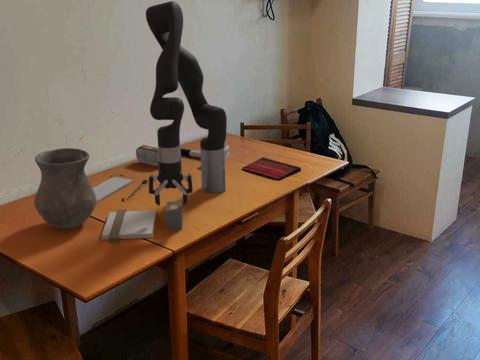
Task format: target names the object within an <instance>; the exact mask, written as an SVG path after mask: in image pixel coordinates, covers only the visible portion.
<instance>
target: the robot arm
mask: <svg viewBox="0 0 480 360" xmlns="http://www.w3.org/2000/svg"><path fill="white" fill-rule="evenodd" d="M145 18H146V23H147V24H148V27H149V29H150V31H151V33H152V35H153V36H154V38H155V40H156V41H157V43H158V44H159V47H160V48H161V51H160V54H159V57H158V58H157V61H156V66H155V89H154V93H153V96H152V99H151V103H150V107H149V113H150V116H151V117H152V118H153V119H154V120H156V121H172V122H171V123H170V124H167V125H163V126H161V127H158V129H157V131H156V132H157V133H156V135H157V148H158V156H157V158H158V167H157V169H158V174H157V175H153V174H150V175H149V177H148V193H149V194H150V195H154V203H155V205H157V206H159V207H160V205H161V196H160V194H161V192H162V190H164V188H165V189H167V190H168V189H176V188H177V189H178V191H180V192H181V194H182V206H186V204H188V194H192V193H193V179H192V174H191V173H188V174H183V173H182V170H183V169H182V155H181V149H180V148H181V141H180V140H181V139H180V132H181V125H182V124H181V123H182V121H183V120H182V118H183V116H184V112H185V103H184V101H183V100H182V98H180V97H176V96H175V97H173V96H172V97H171V96H170V97H164V96H165V95H167V94H172V93H175V92H176V91H177V90H178V88H179V86H180V88H181V90H182V92H183V94H184V96H185V99H186V100H187V102H188V105H189V108H190V111H191V114H192V117H193V118H194V121H195V123H196V124H195V125H197V126H198V127H199V128H201V129H203V130H206V131H207V136H206V137H203V138H202V139H201V140H200V141H199V147H200V148H199V149H200V150H199V151H200V152H201V158H200V177H201V180H200V181H201V190H202V191H203V192H205V193H210V194H215V193H216V194H217V193H221V192H226V166H225V164H226V163H225V162H226V161H225V156H224V148H225V142H226V139H227V127H228V126H227V123H228V122H227V121H228V120H227V119H228V118H227V114H226V113H227V112H226V111H225V109H224V108H222V107H220V106H215V105H211V104H210V103H209V102H208V101H207V99H206V98H205V95H204V92H203V85H204V74H203V73H204V72H203V71H202V68H201V66H200V64H199V61H198V60H197V58H196V57H195V56H194V54H192V52H190V51H189V50H187V49H186V48H184V47H183V46H182V45H181V43H182V42H181V41H182V36H183V29H184V13H183V10H182V8H181V6H180V4H179V3H178V2H176V1H175V0H173V1H171V0H170V1H166V2H162V3H158V4H155V5H151V6H148V7H147V8H146V10H145ZM183 180H184V181H185V182H187V187H188V188H186V187H185V186H184V184H183V183H182V181H183ZM156 181H158V182H159V185H158V186H157V188H156V189H155V188H154V183H155V182H156Z"/></svg>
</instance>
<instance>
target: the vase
mask: <svg viewBox="0 0 480 360" xmlns="http://www.w3.org/2000/svg"><path fill="white" fill-rule="evenodd" d="M89 159H90V154H89V152H87V151H86V150H83V149H81V148H71V147H66V148H65V147H64V148H63V147H62V148H57V149H51V150H46V151H43V152H40V153H38V154H37V155H36V156H35V157H34V161H35V164H36V165H37V167H38V168H39V170H40V175H41V176H40V177H41V178H40V182H39V185H38V189H37V192H36V193H35V195H34V199H33V200H34V202H33V203H34V207H35V209H36V211H37V214H38V215H39V216H40V217H41V219H42V220H43V221H44V222H46V223H47V224H48V225H50V226H51V227H55V228H57V229H59V230H64V231H65V230H66V231H67V230H73V229H75V228H78V227H80V226H82V225H83V224H84V223H85V222H86V221H87V220H89V218H90V217H91V215H92V214H93V212H94V210H95V208H96V205H97V203H96V201H97V199H96V195H95V193H94V191H93V189H92V188H93V187H92V185H91V184H90V181H89V179H88V177H87V174H86V171H85V167H86V165H87V162H88V161H89Z"/></svg>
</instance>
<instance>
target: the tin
mask: <svg viewBox="0 0 480 360" xmlns="http://www.w3.org/2000/svg"><path fill="white" fill-rule="evenodd" d="M135 156H136V159H137V160H138V162H139V163H141V164H143V165H146V166H151V167H155V168H158V158H157V156H158V147H153V146H150V145H145V144H142V145H140V146H138V147H137V148H136V150H135Z"/></svg>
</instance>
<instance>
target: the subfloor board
mask: <svg viewBox="0 0 480 360" xmlns="http://www.w3.org/2000/svg"><path fill="white" fill-rule="evenodd" d="M156 216H157V210H136V211H135V210H134V211H133V210H131V211H130V210H129V211H127V209H126V208H125V209H120V208H119V209H117V211H109V213H108V216H107V219H106V222H105V225H104V227H103V230H102V232H101V240H103V241H104V240H108V243H118V242H120V241H119V240H121V239H122V240H126V239H150V238H151V239H152V238H153V234H154V228H155V223H156V222H155V221H156Z"/></svg>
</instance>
